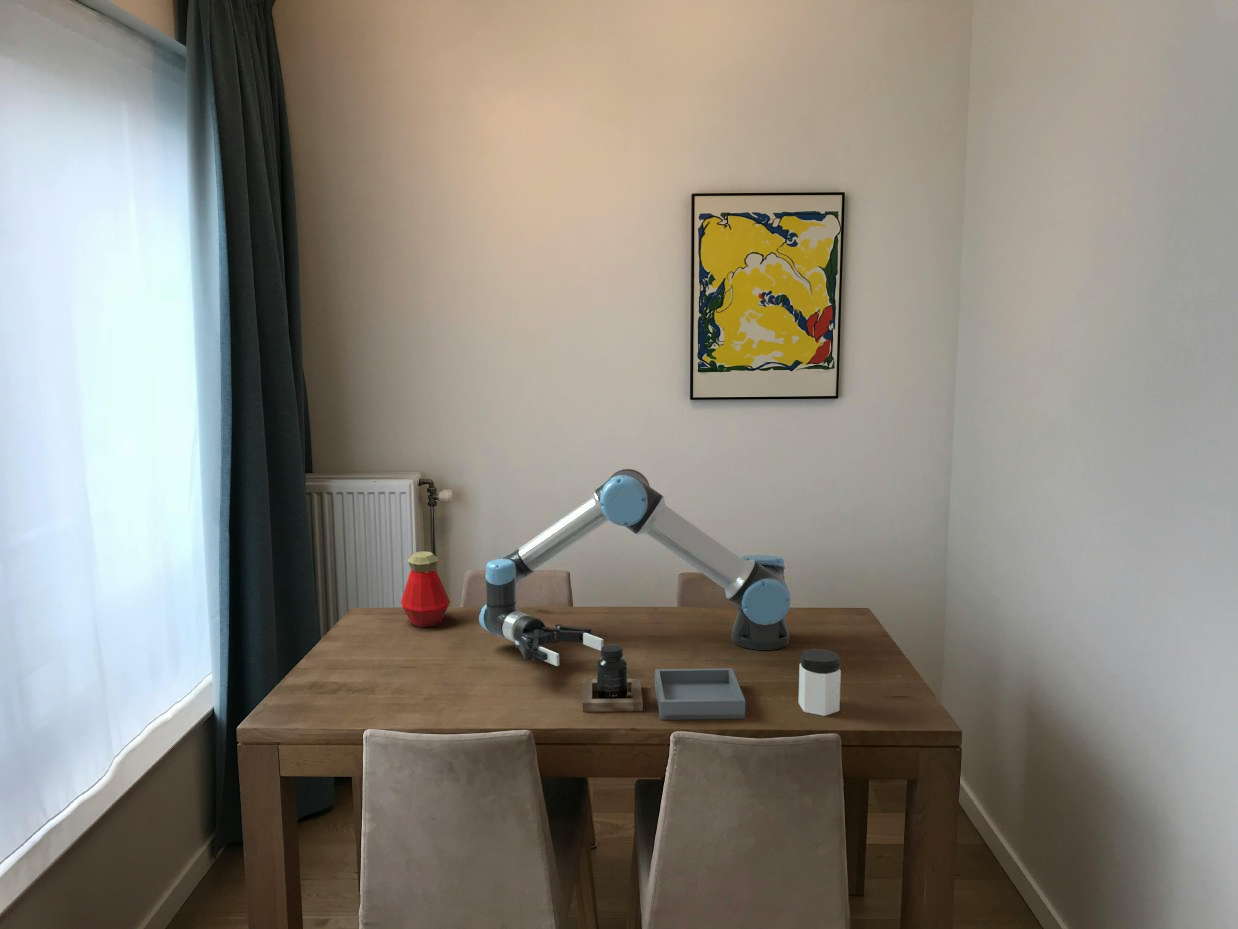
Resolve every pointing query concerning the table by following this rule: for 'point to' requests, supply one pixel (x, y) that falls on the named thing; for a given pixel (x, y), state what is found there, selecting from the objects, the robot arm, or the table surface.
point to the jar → (819, 682)
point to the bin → (698, 694)
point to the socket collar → (612, 704)
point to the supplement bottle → (612, 673)
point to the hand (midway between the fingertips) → (580, 652)
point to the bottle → (424, 592)
